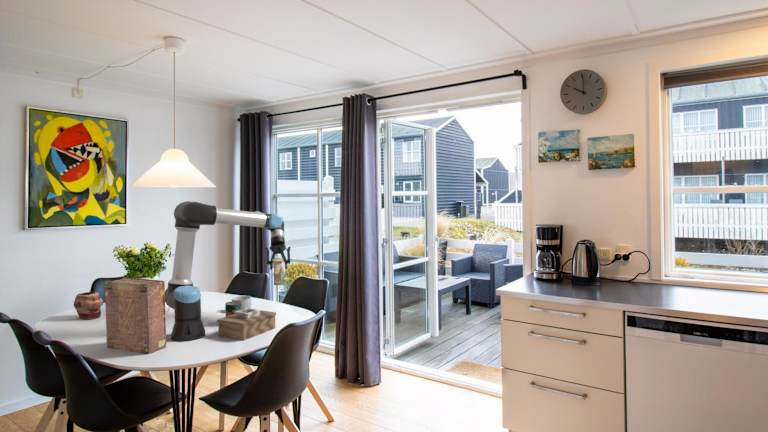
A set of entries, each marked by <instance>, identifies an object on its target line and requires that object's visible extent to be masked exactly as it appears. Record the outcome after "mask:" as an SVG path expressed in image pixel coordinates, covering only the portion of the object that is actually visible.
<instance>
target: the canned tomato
mask: <svg viewBox="0 0 768 432" xmlns="http://www.w3.org/2000/svg"><path fill="white" fill-rule="evenodd" d="M224 305H225V306H224V308H225V317H227V316H230V315H233V314H235V312H236V311H239V310H241V302H240V301H232V300H231V301H227V302H225V303H224Z"/></svg>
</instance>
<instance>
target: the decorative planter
mask: <svg viewBox="0 0 768 432" xmlns="http://www.w3.org/2000/svg"><path fill="white" fill-rule="evenodd" d="M103 305H104V300H103V299H102V297H101V296H100V294H99V292H97V291H87V292H82V293H81V292H80V293H78V294H76V296H75V297H74V301H73V307H74V309H75V311H76V313H77V316H78V317H79V319H80V320H93V319H97V318H100V317H101V314H102V310H101V307H102V306H103Z"/></svg>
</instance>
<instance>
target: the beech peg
mask: <svg viewBox="0 0 768 432" xmlns="http://www.w3.org/2000/svg"><path fill="white" fill-rule="evenodd" d="M272 262H273V263H274V276H273V285H274V286H281V285H282V283H283V281H282V275H283V274H282V273H283V272H282V271H283V270H282V269H283V262H284V261H283V259H282V258H274V259H272Z"/></svg>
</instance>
